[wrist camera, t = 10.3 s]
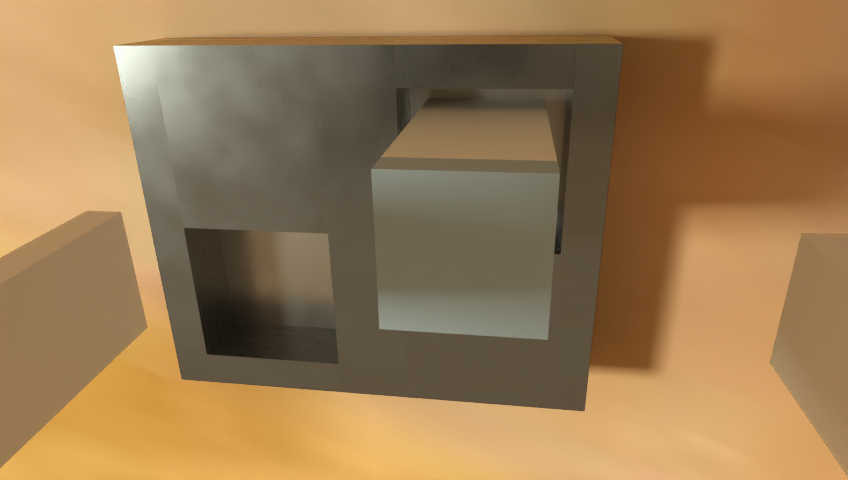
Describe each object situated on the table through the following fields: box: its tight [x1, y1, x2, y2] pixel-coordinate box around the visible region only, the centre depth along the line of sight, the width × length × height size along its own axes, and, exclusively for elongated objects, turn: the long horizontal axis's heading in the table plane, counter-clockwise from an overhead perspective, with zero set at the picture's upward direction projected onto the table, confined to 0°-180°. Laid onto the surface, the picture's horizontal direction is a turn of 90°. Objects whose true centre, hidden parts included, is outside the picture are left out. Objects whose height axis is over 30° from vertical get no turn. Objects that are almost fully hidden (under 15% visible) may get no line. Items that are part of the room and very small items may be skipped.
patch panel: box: [113, 36, 623, 411], centre depth 22 cm, size 16×13×3 cm
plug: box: [371, 98, 560, 340], centre depth 18 cm, size 4×4×9 cm
